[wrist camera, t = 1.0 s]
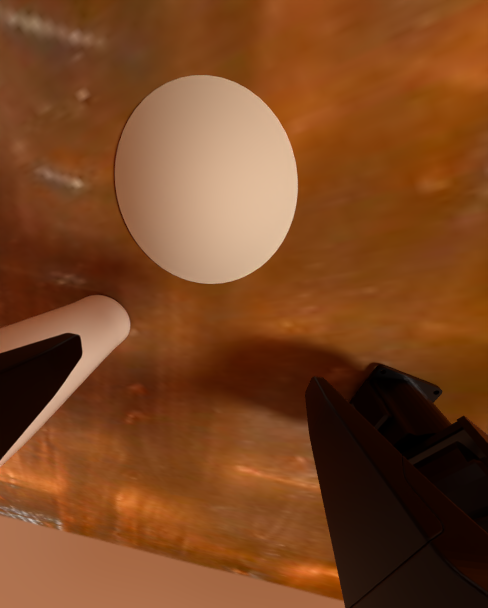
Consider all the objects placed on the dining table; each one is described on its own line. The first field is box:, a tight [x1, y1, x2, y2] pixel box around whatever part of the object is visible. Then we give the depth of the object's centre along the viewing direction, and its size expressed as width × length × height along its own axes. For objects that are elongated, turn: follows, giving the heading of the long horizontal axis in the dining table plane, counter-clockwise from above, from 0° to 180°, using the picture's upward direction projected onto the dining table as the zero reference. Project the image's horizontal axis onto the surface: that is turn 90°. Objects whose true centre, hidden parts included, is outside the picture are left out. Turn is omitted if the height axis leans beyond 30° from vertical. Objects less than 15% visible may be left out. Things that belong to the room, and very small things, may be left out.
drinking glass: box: [0, 295, 130, 467], centre depth 16 cm, size 7×7×15 cm
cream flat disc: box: [115, 75, 298, 284], centre depth 17 cm, size 14×14×1 cm
